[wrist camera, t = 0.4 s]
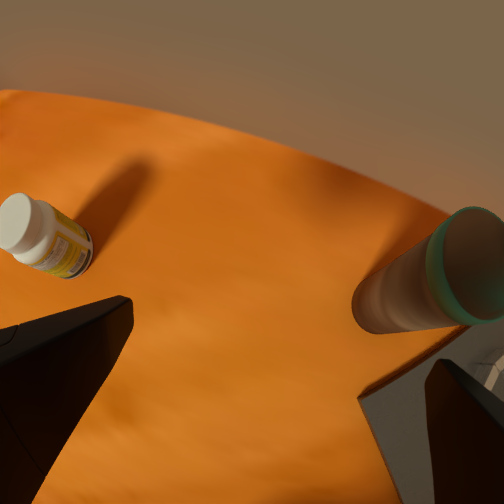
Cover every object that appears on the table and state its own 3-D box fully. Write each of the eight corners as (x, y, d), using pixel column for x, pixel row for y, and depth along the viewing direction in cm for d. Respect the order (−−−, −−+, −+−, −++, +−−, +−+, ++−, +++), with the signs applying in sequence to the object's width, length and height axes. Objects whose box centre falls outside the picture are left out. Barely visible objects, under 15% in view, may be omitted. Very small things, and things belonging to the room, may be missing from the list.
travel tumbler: (415, 317, 22) (534, 287, 9) (366, 346, 21) (471, 346, 9) (390, 264, 23) (490, 192, 10) (339, 290, 23) (419, 232, 10)
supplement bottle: (54, 231, 25) (-5, 194, 17) (95, 223, 25) (40, 178, 17) (51, 283, 24) (-14, 258, 16) (94, 277, 24) (30, 248, 15)
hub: (539, 418, 18) (558, 420, 15) (410, 526, 16) (423, 540, 13) (506, 292, 22) (526, 286, 19) (356, 398, 20) (369, 405, 17)
